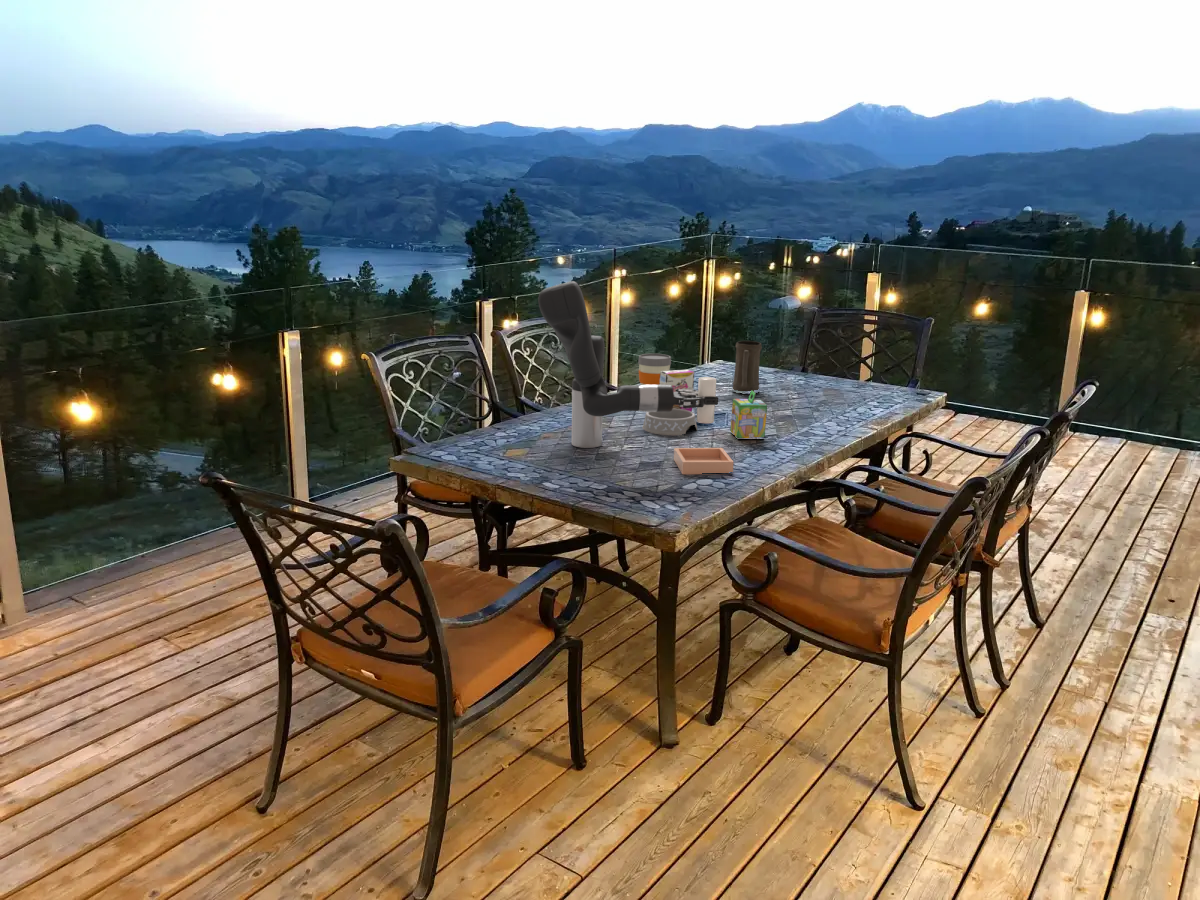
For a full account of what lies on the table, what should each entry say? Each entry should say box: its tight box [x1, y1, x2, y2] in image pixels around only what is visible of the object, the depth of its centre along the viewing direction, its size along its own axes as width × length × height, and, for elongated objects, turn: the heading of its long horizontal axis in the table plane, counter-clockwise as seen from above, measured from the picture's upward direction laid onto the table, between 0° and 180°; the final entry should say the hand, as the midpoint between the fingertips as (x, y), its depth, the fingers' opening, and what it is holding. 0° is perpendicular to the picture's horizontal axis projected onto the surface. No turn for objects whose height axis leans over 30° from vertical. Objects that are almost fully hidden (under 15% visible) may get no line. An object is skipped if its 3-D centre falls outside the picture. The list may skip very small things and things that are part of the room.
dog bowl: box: [641, 408, 698, 436], centre depth 289 cm, size 17×18×5 cm
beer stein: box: [732, 340, 763, 391], centre depth 342 cm, size 15×11×20 cm
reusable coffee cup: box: [637, 353, 672, 385], centre depth 336 cm, size 13×13×15 cm
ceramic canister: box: [696, 376, 717, 424], centre depth 243 cm, size 5×5×12 cm
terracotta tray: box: [673, 447, 734, 475], centre depth 248 cm, size 14×14×4 cm
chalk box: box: [729, 390, 768, 438], centre depth 279 cm, size 9×9×15 cm
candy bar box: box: [659, 369, 695, 412], centre depth 301 cm, size 11×5×16 cm, turn 115°
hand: (715, 398), depth 243 cm, fingers closed on ceramic canister, 4 cm apart
